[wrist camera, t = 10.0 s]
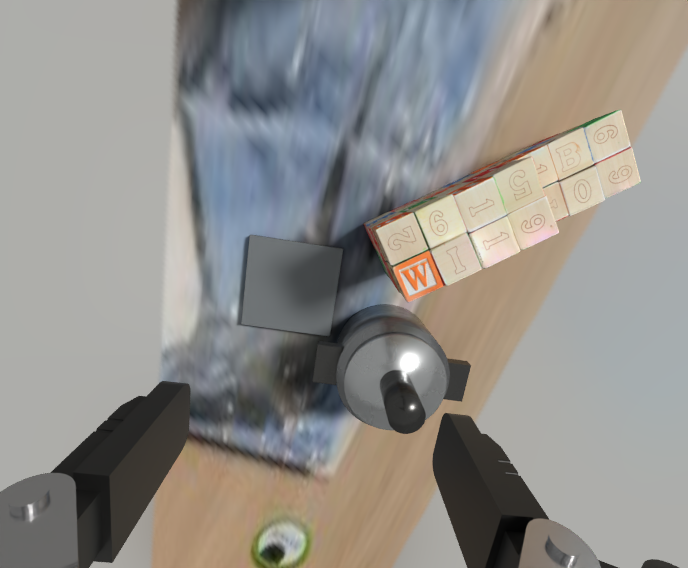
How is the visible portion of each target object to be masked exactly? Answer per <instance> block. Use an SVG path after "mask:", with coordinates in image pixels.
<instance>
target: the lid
mask: <svg viewBox="0 0 688 568" xmlns="http://www.w3.org/2000/svg"><path fill="white" fill-rule="evenodd" d="M446 386H447V378H446V371H445V367H444V365H443V363H442V361H441V359H440V357H439V356H438V354H437V353H436V352H435V350H434V349H433V348H432V347H431V346H430V345H429V344H428V343H427V342H426V341H424V340H423V339H421V338H419V337H417V336H415V335H412V334H410V333H405V332H386V333H381V334H378V335H375V336H373V337H371V338H369V339H367V340H366V341H364V342H363V343H362V344H360V345H359V346H358V347H357V348H356V349H355V351H354V352H353V353H352V355H351V356H350V358H349V360H348V362H347V365H346V368H345V373H344V390H345V395H346V399H347V402H348V404H349V406H350V408H351V409H352V410H353V412H354V413H355V414H356V415H357V416H358V417H359V418H360V419H361V420H362V421H364V422H366V423H367V424H369V425H371V426H373V427H376V428H379V429H385V430H395V431H397V432H399V433H403V434H408V433H413V432H415V431H417V430H418V429H420V428H421V427H422V425H423V424H424V422H425V420H426V419H427V418H429V417H430V416H431V415H432V414H433V413H434V412H435V411H436V410H437V408H438V407H439V405H440V404H441V402H442V400H443V398H444V395H445V391H446Z"/></svg>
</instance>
